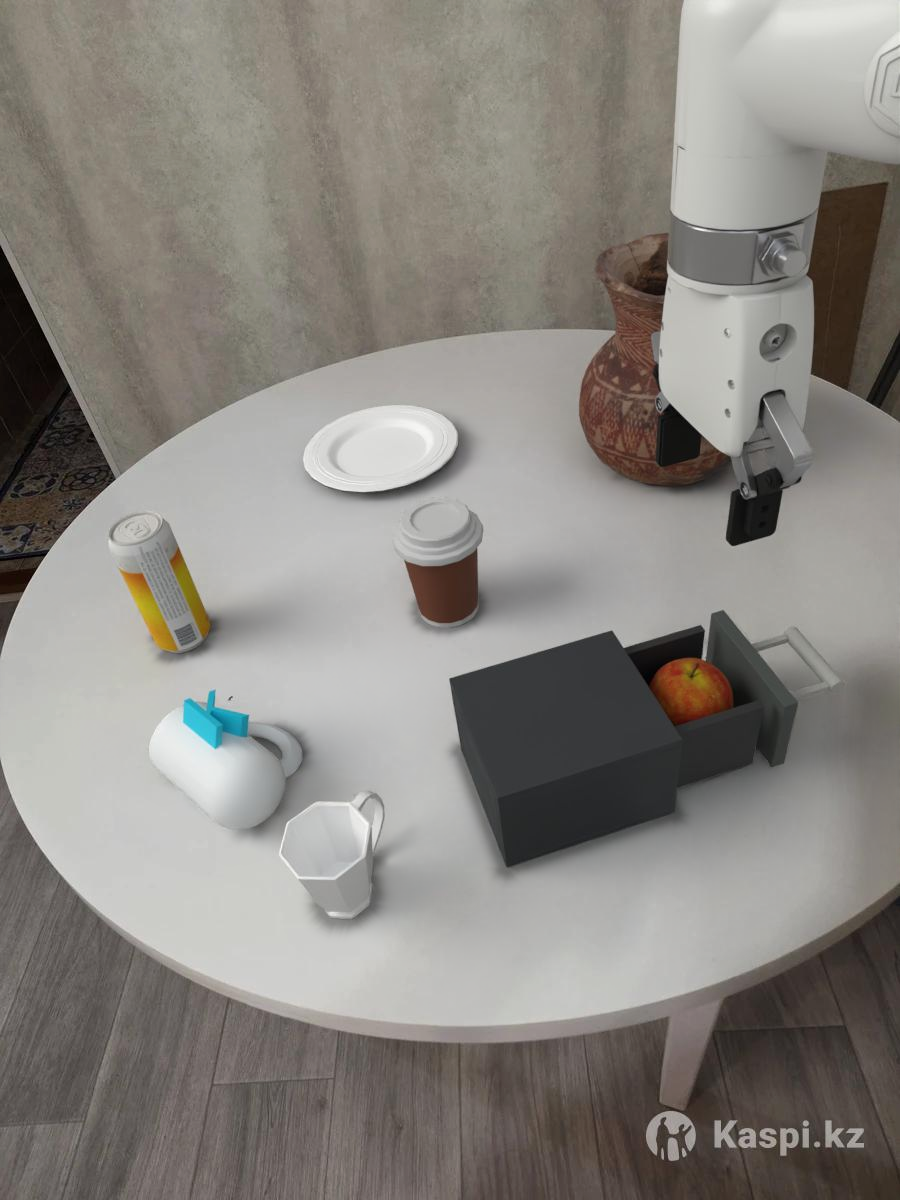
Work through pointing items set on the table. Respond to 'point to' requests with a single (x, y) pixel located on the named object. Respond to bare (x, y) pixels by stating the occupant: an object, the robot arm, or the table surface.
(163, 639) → the beer can
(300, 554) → the table surface
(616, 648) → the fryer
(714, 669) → the fruit
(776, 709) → the grey drawer
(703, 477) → the jug
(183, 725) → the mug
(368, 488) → the plate
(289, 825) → the cup
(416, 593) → the coffee cup
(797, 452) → the robot arm
